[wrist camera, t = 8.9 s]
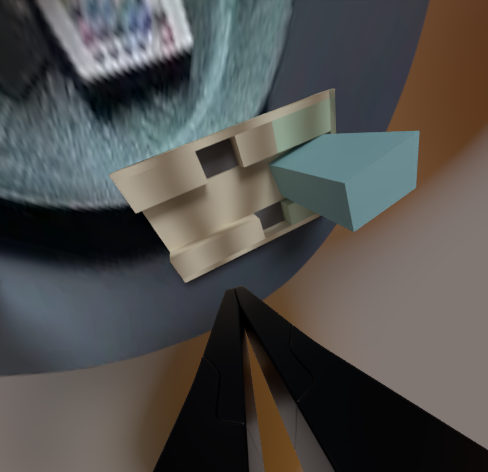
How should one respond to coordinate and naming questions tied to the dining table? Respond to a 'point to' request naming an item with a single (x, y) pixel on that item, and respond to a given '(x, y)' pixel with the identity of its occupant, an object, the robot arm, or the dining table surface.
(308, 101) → the box
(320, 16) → the dining table surface
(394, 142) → the block
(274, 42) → the dining table surface
